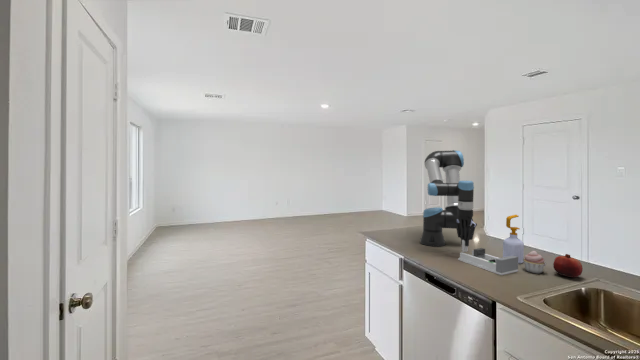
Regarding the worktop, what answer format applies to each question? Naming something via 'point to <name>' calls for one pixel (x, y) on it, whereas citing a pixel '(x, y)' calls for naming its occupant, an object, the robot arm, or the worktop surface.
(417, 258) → the worktop surface
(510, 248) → the soap bottle
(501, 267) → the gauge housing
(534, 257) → the cupcake
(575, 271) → the fruit
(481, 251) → the block with dark end
